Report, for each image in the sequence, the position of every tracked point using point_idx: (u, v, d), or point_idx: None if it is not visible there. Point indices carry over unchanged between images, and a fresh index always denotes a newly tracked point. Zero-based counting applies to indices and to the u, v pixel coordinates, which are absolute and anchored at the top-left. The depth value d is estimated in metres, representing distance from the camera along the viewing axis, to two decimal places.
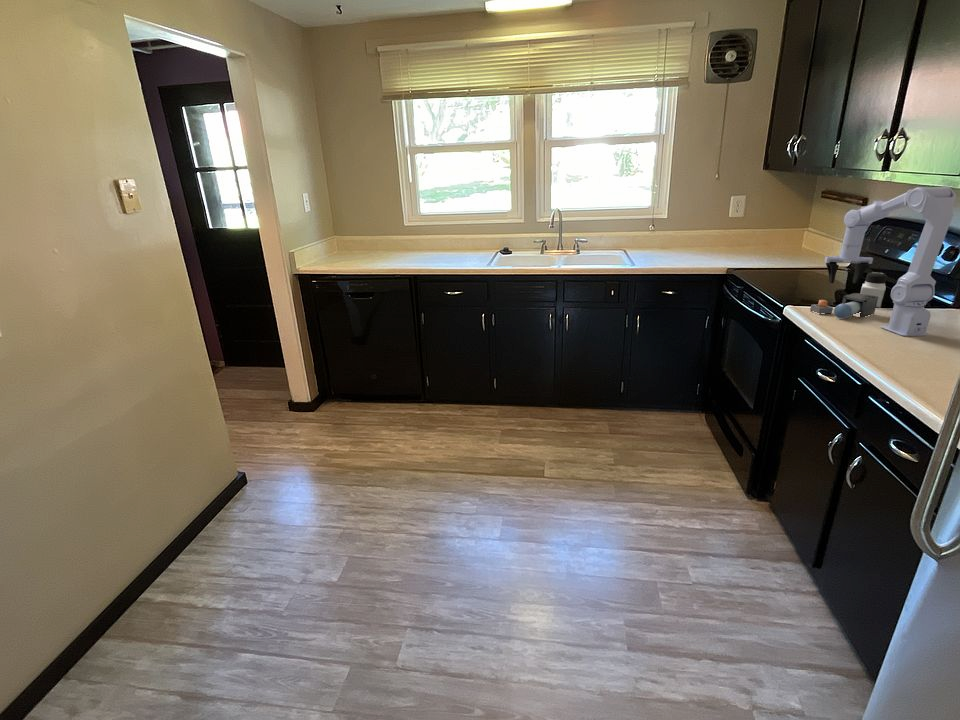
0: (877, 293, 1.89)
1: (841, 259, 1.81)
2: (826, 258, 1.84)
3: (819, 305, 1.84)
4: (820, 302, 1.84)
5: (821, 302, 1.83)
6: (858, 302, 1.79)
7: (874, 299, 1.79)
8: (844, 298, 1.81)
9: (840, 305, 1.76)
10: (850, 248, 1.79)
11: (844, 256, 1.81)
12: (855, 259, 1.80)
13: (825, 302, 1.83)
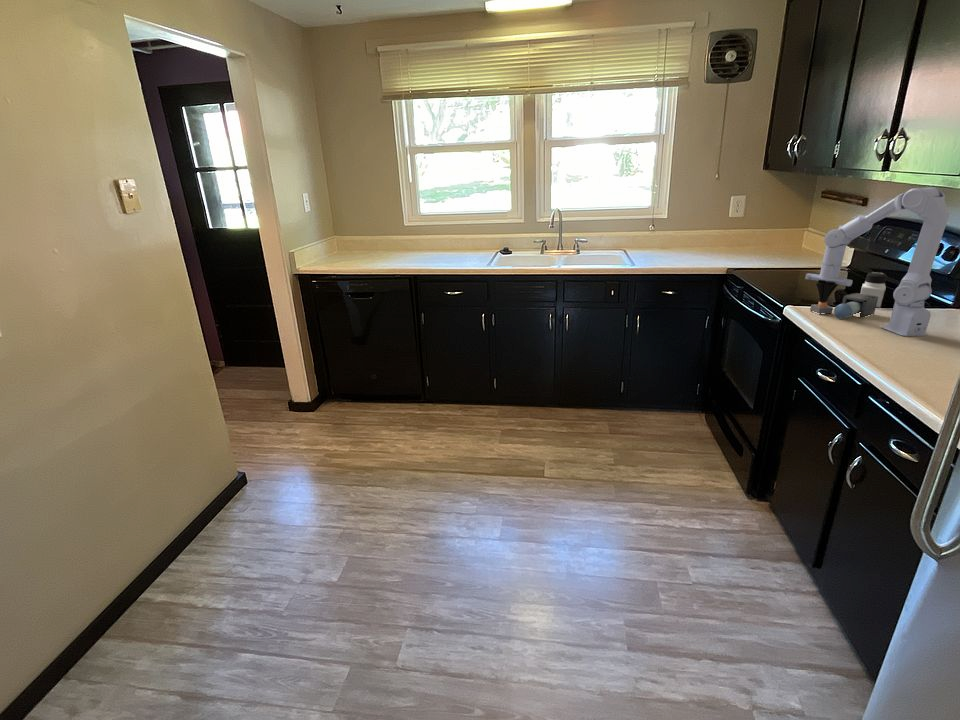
0: (877, 293, 1.89)
1: (816, 277, 1.82)
2: None
3: (819, 306, 1.84)
4: (820, 303, 1.84)
5: (821, 303, 1.83)
6: (858, 302, 1.79)
7: (874, 299, 1.79)
8: (844, 298, 1.81)
9: (840, 305, 1.76)
10: (823, 267, 1.79)
11: (819, 274, 1.81)
12: (827, 278, 1.79)
13: (825, 303, 1.83)
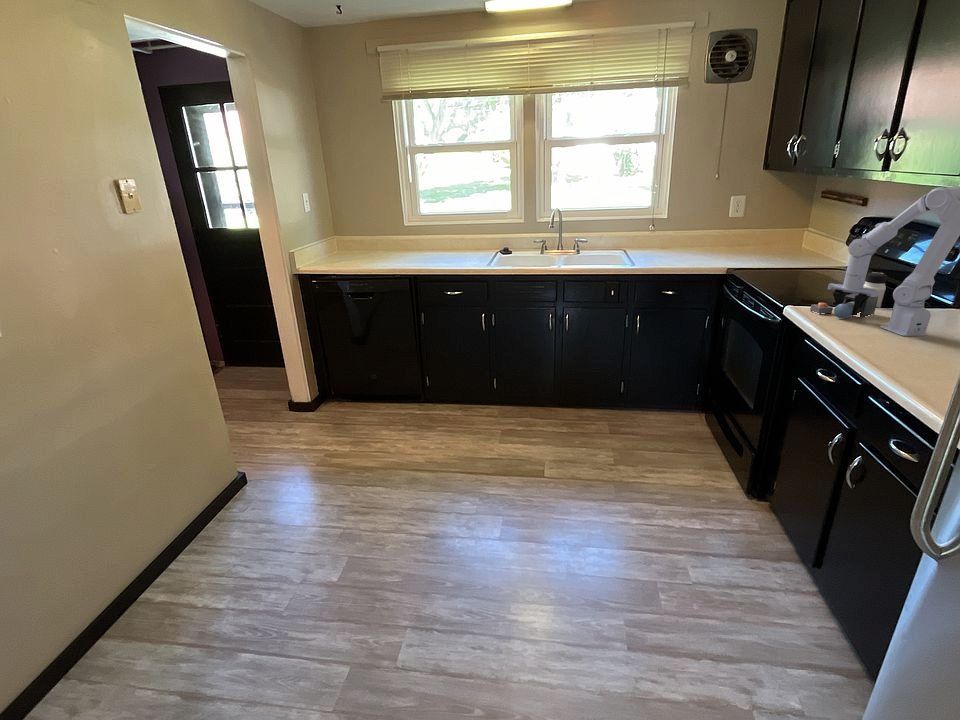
0: None
1: (839, 287, 1.77)
2: None
3: None
4: (819, 305, 1.84)
5: (821, 305, 1.83)
6: None
7: (874, 299, 1.79)
8: None
9: (840, 305, 1.76)
10: (847, 277, 1.74)
11: (843, 284, 1.76)
12: (851, 289, 1.73)
13: (824, 305, 1.83)
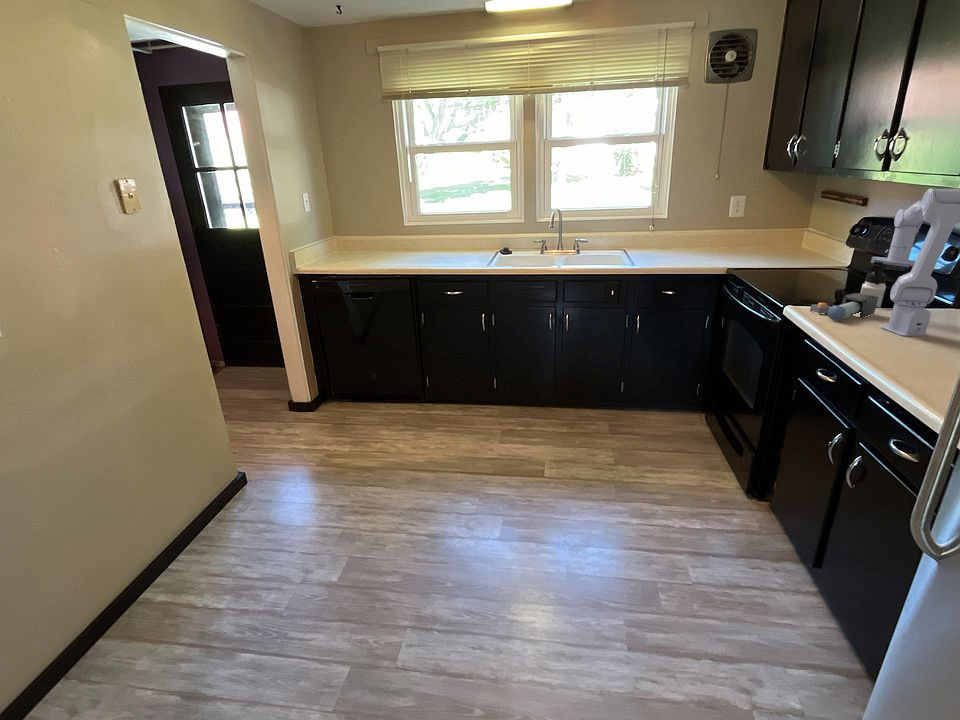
0: (877, 293, 1.89)
1: (883, 260, 1.76)
2: None
3: None
4: (819, 305, 1.84)
5: (821, 305, 1.83)
6: (852, 304, 1.77)
7: (874, 299, 1.79)
8: (844, 298, 1.81)
9: (834, 307, 1.74)
10: (892, 249, 1.73)
11: (888, 257, 1.75)
12: (897, 261, 1.72)
13: (824, 305, 1.83)
